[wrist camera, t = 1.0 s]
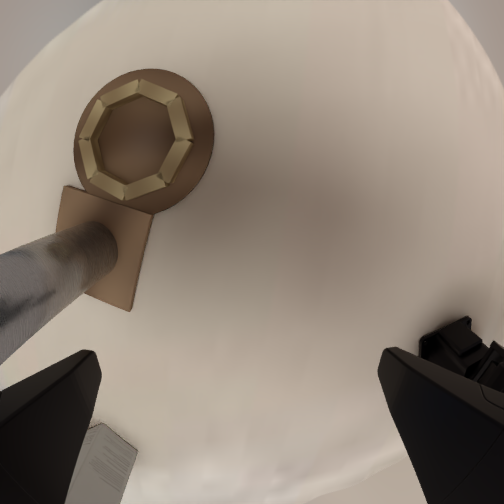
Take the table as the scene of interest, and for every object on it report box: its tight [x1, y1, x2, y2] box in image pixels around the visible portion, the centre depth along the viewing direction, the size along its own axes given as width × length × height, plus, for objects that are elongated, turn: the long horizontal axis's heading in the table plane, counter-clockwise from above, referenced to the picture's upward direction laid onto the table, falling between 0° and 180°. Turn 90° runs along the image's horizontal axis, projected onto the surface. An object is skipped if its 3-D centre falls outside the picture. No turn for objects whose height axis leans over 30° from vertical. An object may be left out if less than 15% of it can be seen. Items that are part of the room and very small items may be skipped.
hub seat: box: [74, 69, 214, 214], centre depth 18 cm, size 11×11×2 cm
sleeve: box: [0, 221, 118, 365], centre depth 14 cm, size 4×4×13 cm
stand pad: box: [56, 185, 154, 312], centre depth 21 cm, size 8×8×1 cm
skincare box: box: [65, 423, 138, 504], centre depth 20 cm, size 8×6×15 cm
